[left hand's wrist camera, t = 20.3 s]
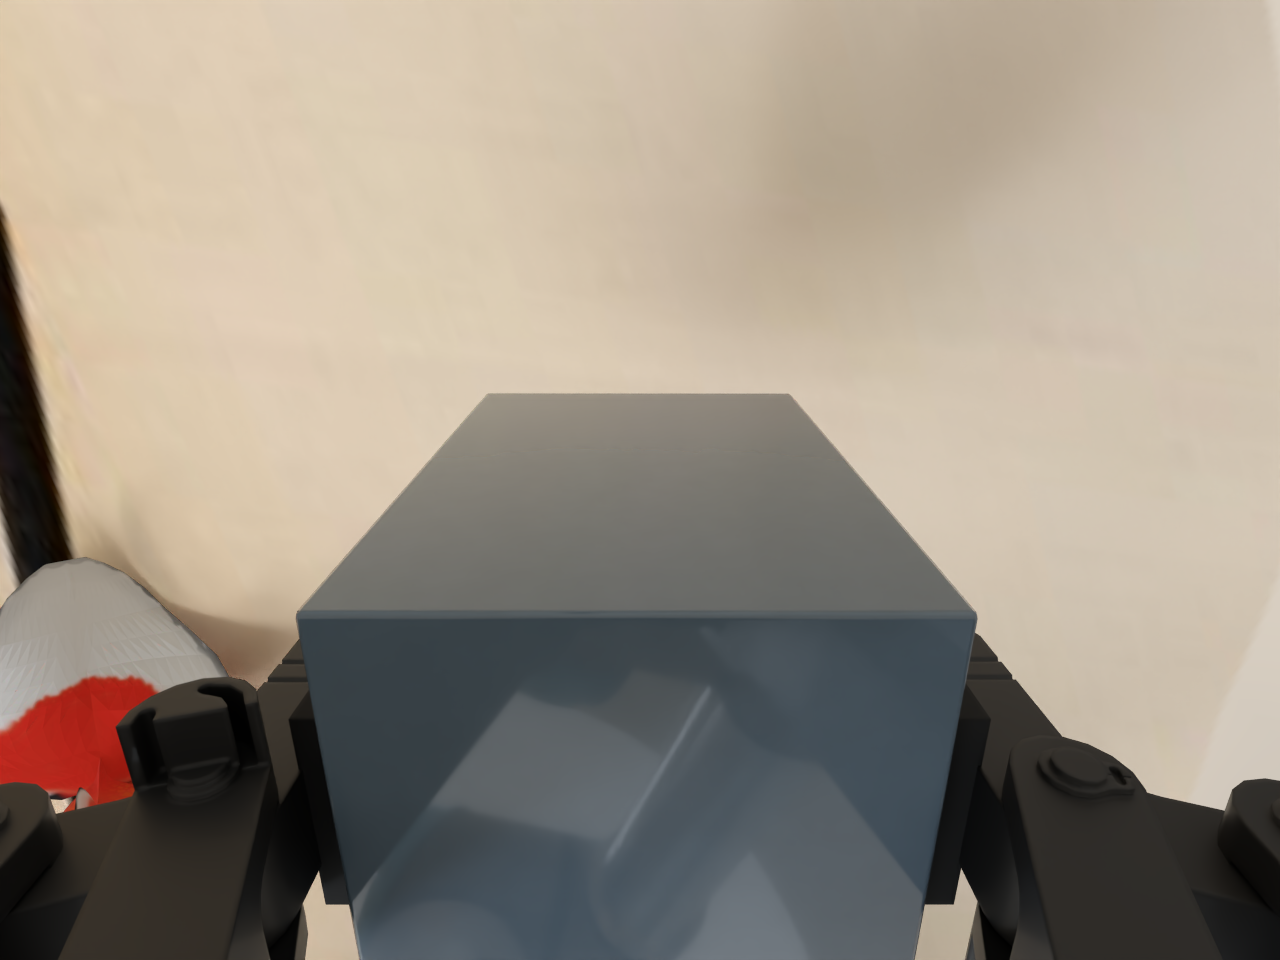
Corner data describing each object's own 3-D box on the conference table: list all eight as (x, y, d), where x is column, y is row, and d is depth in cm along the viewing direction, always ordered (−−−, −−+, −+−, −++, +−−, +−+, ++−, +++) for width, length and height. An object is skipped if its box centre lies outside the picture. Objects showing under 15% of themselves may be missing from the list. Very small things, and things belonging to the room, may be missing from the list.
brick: (790, 392, 14) (982, 614, 6) (771, 656, 16) (896, 1072, 8) (486, 392, 14) (291, 612, 6) (505, 656, 16) (377, 1071, 8)
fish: (-76, 920, 29) (-254, 1113, 20) (12, 536, 30) (-117, 553, 21) (225, 902, 33) (191, 1055, 24) (290, 567, 35) (281, 592, 26)
